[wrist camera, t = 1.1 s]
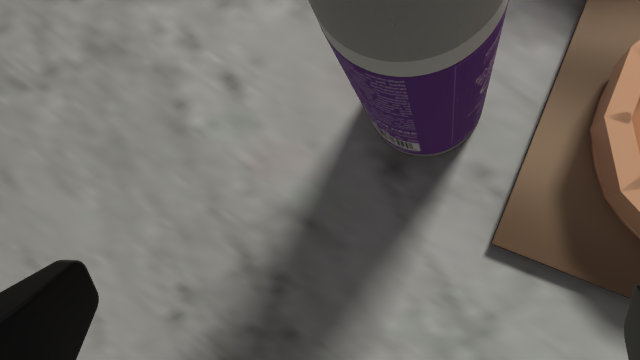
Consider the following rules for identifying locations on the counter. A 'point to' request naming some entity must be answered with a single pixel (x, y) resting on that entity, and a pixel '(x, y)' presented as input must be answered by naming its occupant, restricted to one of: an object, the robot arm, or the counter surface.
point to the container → (416, 64)
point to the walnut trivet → (575, 164)
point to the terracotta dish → (620, 140)
